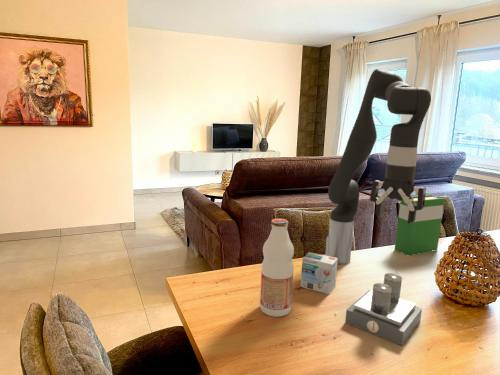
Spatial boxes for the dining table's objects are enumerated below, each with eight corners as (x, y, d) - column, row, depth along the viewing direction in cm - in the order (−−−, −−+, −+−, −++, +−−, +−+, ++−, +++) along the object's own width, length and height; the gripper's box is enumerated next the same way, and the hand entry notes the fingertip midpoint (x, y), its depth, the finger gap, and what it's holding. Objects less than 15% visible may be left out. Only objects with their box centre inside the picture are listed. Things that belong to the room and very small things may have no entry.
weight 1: (370, 304, 107) (372, 282, 105) (387, 307, 106) (390, 284, 104) (371, 313, 102) (374, 289, 101) (390, 316, 101) (393, 292, 100)
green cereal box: (423, 245, 174) (430, 194, 169) (437, 250, 167) (444, 198, 162) (394, 249, 166) (400, 197, 161) (407, 255, 160) (414, 201, 155)
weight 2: (385, 293, 114) (388, 271, 113) (401, 298, 111) (404, 276, 110) (379, 298, 111) (382, 276, 109) (396, 304, 108) (398, 281, 106)
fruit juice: (270, 320, 107) (275, 227, 101) (254, 305, 115) (257, 218, 109) (297, 313, 112) (303, 223, 106) (279, 298, 120) (284, 214, 114)
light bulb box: (299, 287, 128) (301, 257, 126) (306, 279, 134) (308, 251, 132) (330, 295, 123) (332, 264, 121) (335, 286, 129) (338, 257, 127)
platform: (353, 308, 107) (354, 304, 107) (371, 292, 117) (372, 289, 116) (399, 326, 99) (400, 322, 98) (415, 307, 109) (415, 303, 108)
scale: (344, 323, 107) (345, 309, 106) (367, 301, 120) (369, 289, 119) (401, 346, 97) (403, 331, 96) (420, 320, 110) (422, 307, 109)
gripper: (432, 164, 100) (424, 222, 104) (380, 158, 109) (374, 212, 113) (424, 167, 95) (416, 228, 98) (370, 161, 104) (364, 217, 107)
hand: (394, 220), depth 105 cm, fingers open, 8 cm apart
